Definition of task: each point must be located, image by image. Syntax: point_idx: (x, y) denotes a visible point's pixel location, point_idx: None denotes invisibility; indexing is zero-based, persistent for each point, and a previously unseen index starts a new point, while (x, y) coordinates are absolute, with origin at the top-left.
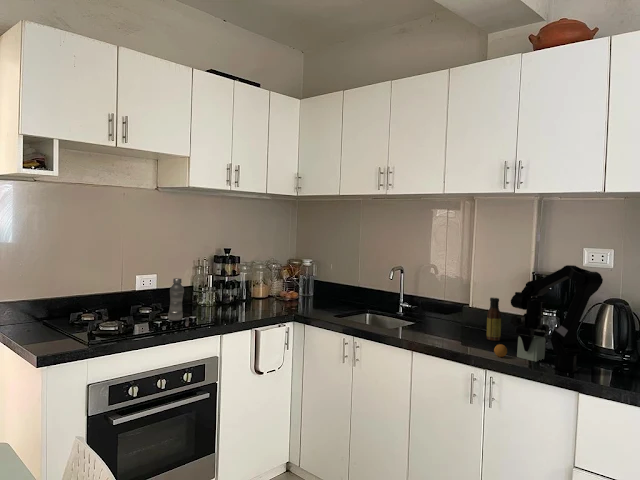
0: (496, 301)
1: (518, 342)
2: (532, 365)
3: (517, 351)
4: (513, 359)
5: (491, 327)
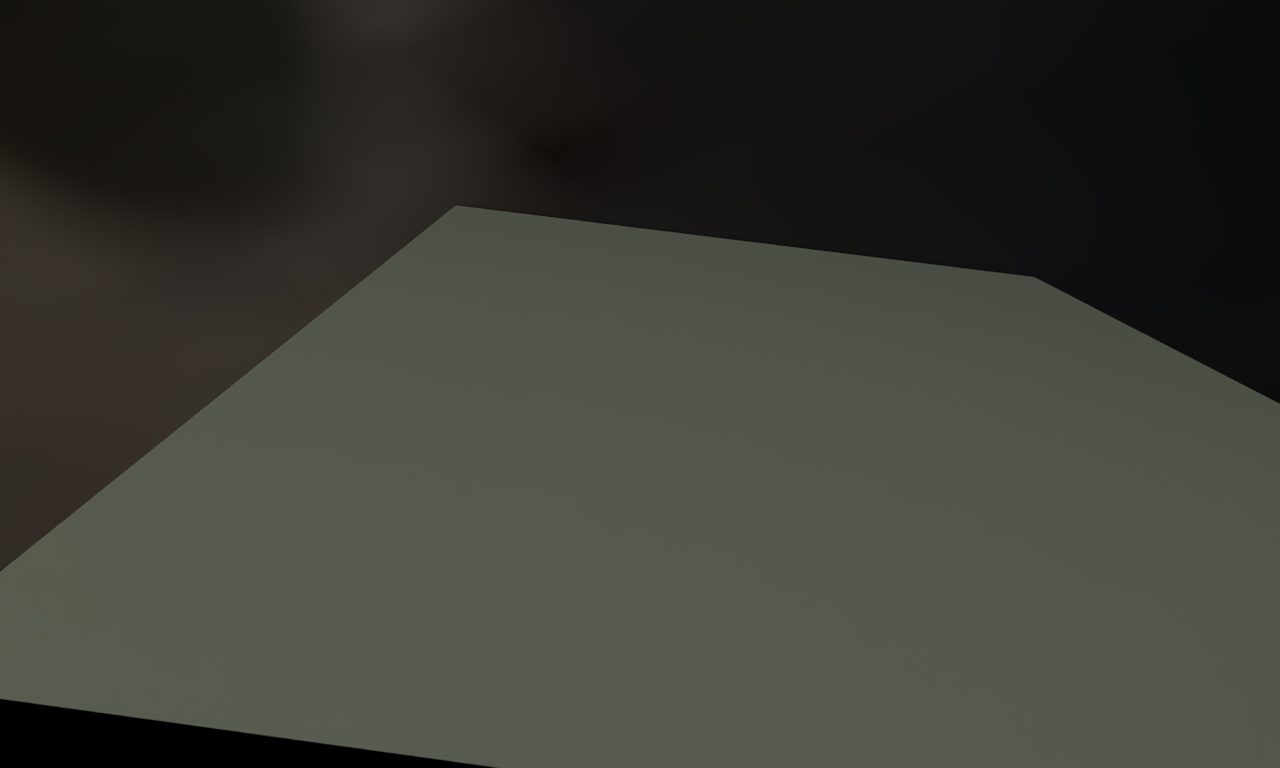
0: None
1: (188, 478)
2: None
3: (405, 259)
4: (31, 243)
5: None
